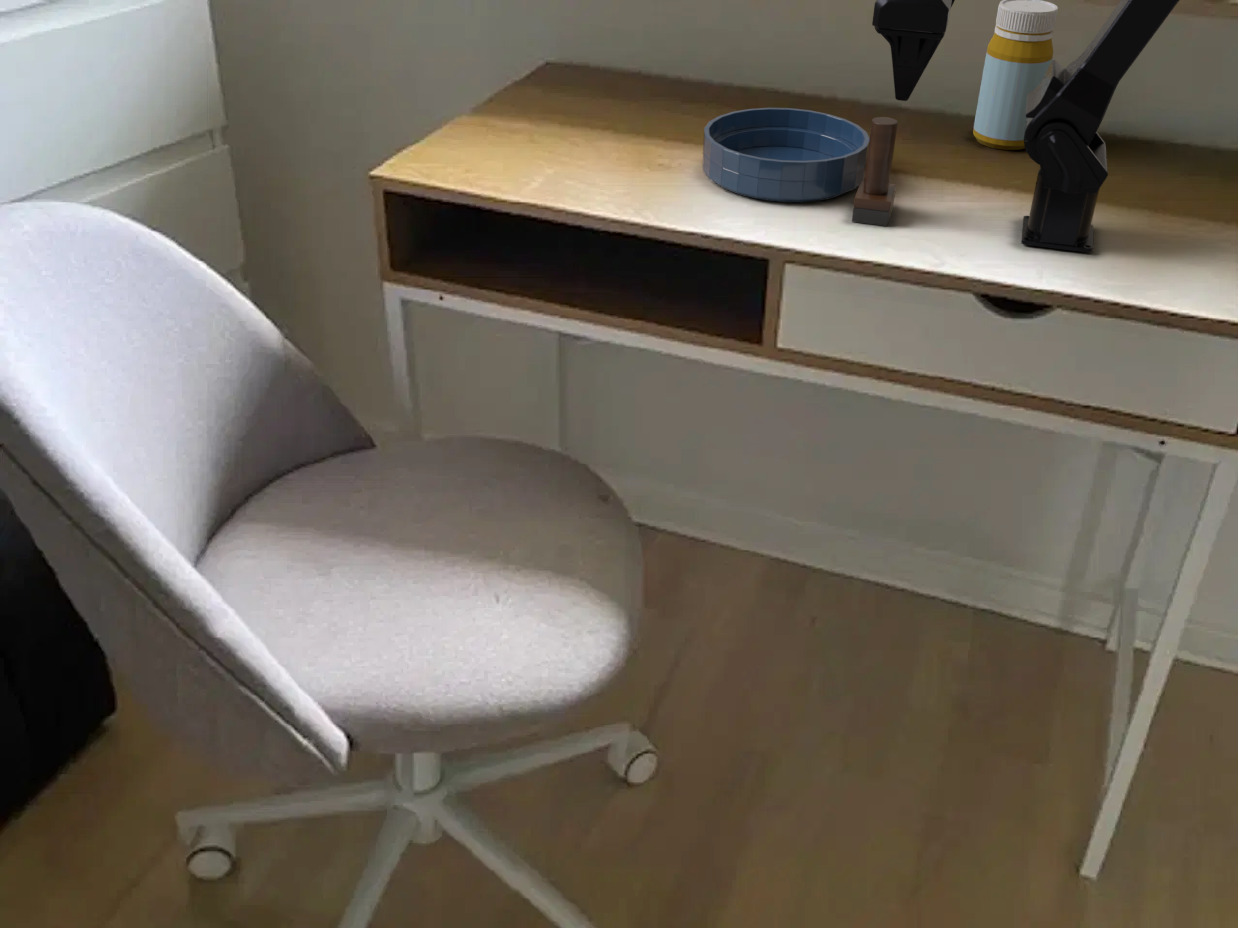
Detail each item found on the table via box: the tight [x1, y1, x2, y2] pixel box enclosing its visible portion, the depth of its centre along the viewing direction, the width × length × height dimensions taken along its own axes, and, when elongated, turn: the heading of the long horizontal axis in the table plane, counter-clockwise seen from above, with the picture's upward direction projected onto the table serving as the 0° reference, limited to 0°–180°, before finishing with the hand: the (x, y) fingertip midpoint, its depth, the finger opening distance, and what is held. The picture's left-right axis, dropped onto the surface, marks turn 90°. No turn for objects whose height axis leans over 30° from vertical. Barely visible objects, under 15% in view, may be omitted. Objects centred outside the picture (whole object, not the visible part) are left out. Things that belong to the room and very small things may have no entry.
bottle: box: [972, 0, 1059, 151], centre depth 144 cm, size 7×7×15 cm
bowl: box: [701, 107, 870, 203], centre depth 136 cm, size 17×17×4 cm
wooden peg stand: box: [851, 116, 899, 227], centre depth 126 cm, size 5×4×10 cm
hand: (906, 85), depth 121 cm, fingers open, 9 cm apart
